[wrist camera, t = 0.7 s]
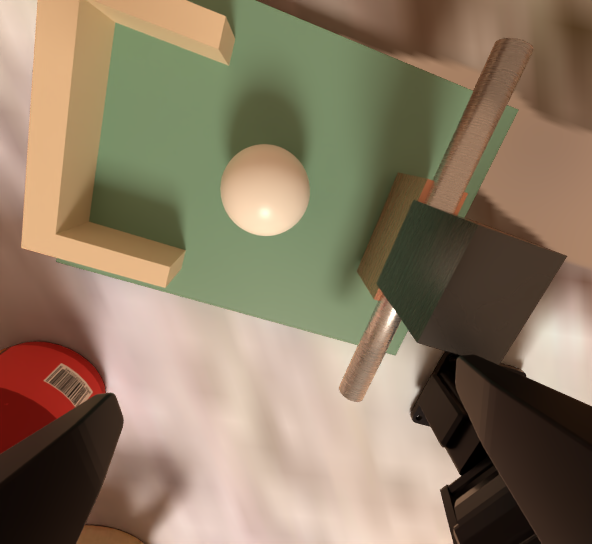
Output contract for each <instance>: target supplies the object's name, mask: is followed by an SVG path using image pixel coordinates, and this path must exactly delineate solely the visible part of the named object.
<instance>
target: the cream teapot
mask: <svg viewBox="0 0 592 544" xmlns="http://www.w3.org/2000/svg"><path fill="white" fill-rule="evenodd" d="M76 544H144V543H143V542H141V541H140V540H139V539H137V538H135V537H134V536H132V535H130V534H127V533H125V532H123V531H120V530H116V529H113V528H109V527H102V526H94V525H85V526H84V528H83V530H82V532H81V534H80V537H79V539H78V541H77V543H76Z"/></svg>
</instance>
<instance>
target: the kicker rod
mask: <svg viewBox="0 0 592 544" xmlns="http://www.w3.org/2000/svg"><path fill="white" fill-rule="evenodd" d="M533 50H534V48H533V46H532V45H531V44H529V43H528V42H526V41H523V40H520V39H514V38H503V39H499V40H497V41H496V42H495V44H494V46H493V48H492V51H491V53H490V55H489V57H488V59H487V62H486V64H485V66H484V68H483V71H482V73H481V75H480V77H479V79H478V82H477V84H476V86H475V88H474V90H473V93H472V95H471V97H470V99H469V101H468V104H467V106H466V108H465V110H464V112H463V115H462V117H461V119H460V121H459V123H458V126H457V128H456V130H455V132H454V134H453V137H452V139H451V141H450V143H449V145H448V148H447V150H446V152H445V154H444V157H443V159H442V161H441V163H440V165H439V168H438V170H437V172H436V174H435V176H434V179H433V180H430V179H427V178H422V177H417V176H413V175H408V174H403V173H398V174H397V176H396V178H395V181H394V183H393V186H392V188H391V190H390V193H389V195H388V198H387V200H386V202H385V205H384V207H383V210H382V212H381V214H380V217H379V219H378V222H377V224H376V226H375V229H374V231H373V233H372V236H371V238H370V241H369V243H368V245H367V248H366V250H365V253H364V255H363V257H362V260H361V262H360V265H359V267H358V269H357V273H358V274H359V276H360V278H361V279H362V281H363V282H364V284H365V286H366V287H367V289H368V291H369V292H370V294H371V296H372V297H373V299H374V300H378V302H377V304H376V306H375V309H374V311H373V313H372V315H371V317H370V320H369V322H368V324H367V326H366V328H365V331H364V333H363V335H362V337H361V340H360V342H359V344H358V346H357V348H356V351H355V353H354V355H353V357H352V359H351V362H350V364H349V366H348V368H347V370H346V373H345V375H344V377H343V379H342V381H341V384H340V386H339V390H340V392H341V394H342V395H343V396H344V397H346V398H347V399H349V400H351V401H354V402H360V401H362V400H363V398H364V396H365V394H366V392H367V390H368V388H369V386H370V384H371V382H372V380H373V378H374V376H375V374H376V371H377V369H378V367H379V365H380V363H381V361H382V359H383V357H384V355H385V353H386V351H387V349H388V347H389V345H390V343H391V341H392V339H393V337H394V335H395V333H396V331H397V329H398V326H399V324H400V322H401V320H402V322H403V323H404V324H405V326H406V327H407V329H408V330H409V332H410V333H411V335H412V336H413V337H414V339H415V340H416V342H417V343H420V344H423V345H427V346H430V347H434V348H437V349H441V350H444V351H448V352H451V353H455V354H458V355H471V354H474V355H477V356H480V357H482V358H484V359H486V360H489V361H491V362H493V363H495V364H498V365H499V364H500V363H501V361H502V359H503V358H504V356H505V355H506V353H507V351H508V350H509V348H510V347H511V345H512V343H513V342H514V340H515V339H516V337H517V335H518V334H519V332H520V331H521V329H522V327H523V326H524V324H525V323H526V321H527V320H528V318H529V316H530V315H531V313H532V312H533V310H534V308H535V307H536V305H537V304H538V302H539V300H540V299H541V297H542V296H543V294H544V292H545V291H546V289H547V288H548V286H549V284H550V283H551V281H552V280H553V278H554V276H555V275H556V273H557V272H558V270H559V268H560V267H561V265H562V264H563V262H564V260H565V259H566V257H567V256H566V255H563V254H560V253H558V252H555V251H552V250H550V249H547V248H544V247H542V246H539V245H536V244H534V243H531V242H529V241H526V240H523V239H521V238H518V237H515V236H513V235H510V234H507V233H505V232H502V231H499V230H497V229H494V228H492V227H489V226H486V225H484V224H481V223H478V222H476V221H473V220H470V219H467V218H464V217H461V216H459V215H458V213H459V211H460V209H461V207H462V205H463V203H464V201H465V199H466V197H467V195H468V193H466V192H464V191H465V189H466V187H467V185H468V183H469V181H470V179H471V177H472V175H473V173H474V171H475V169H476V167H477V165H478V163H479V161H480V159H481V157H482V155H483V153H484V151H485V149H486V146H487V144H488V142H489V140H490V138H491V136H492V134H493V132H494V130H495V128H496V126H497V124H498V122H499V120H500V118H501V116H502V114H503V112H504V110H505V108H506V106H507V103H508V101H509V99H510V97H511V95H512V93H513V91H514V89H515V87H516V85H517V83H518V81H519V79H520V77H521V75H522V73H523V71H524V69H525V67H526V65H527V63H528V61H529V59H530V56H531V54H532V52H533Z"/></svg>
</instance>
